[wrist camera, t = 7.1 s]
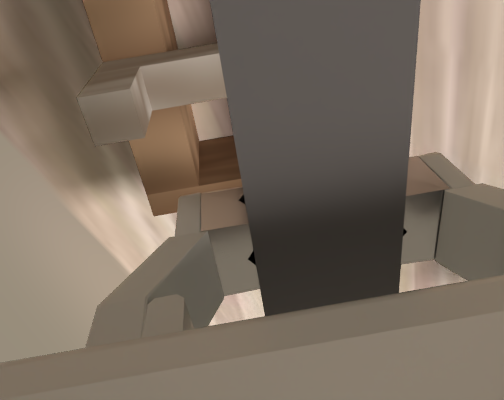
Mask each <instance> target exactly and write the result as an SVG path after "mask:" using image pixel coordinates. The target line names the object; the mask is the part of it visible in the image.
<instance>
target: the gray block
mask: <svg viewBox="0 0 504 400" xmlns="http://www.w3.org/2000/svg"><path fill="white" fill-rule="evenodd" d="M420 1H421V0H210V4H211V10H212V15H213V21H214V27H215V33H216V38H217V44H218V50H219V55H220V61H221V67H222V73H223V78H224V84H225V90H226V95H227V101H228V107H229V113H230V118H231V124H232V130H233V135H234V141H235V147H236V153H237V158H238V164H239V170H240V175H241V181H242V187H243V193H244V198H245V204H246V210H247V215H248V221H249V227H250V233H251V238H252V244H253V250H254V255H255V261H256V267H257V272H258V278H259V284H260V290H261V295H262V301H263V307H264V312H265V316H270V315H276V314H282V313H287V312H293V311H299V310H304V309H310V308H316V307H322V306H327V305H333V304H339V303H345V302H350V301H356V300H362V299H367V298H373V297H379V296H385V295H390V294H396V293H399V282H400V269H401V256H402V242H403V229H404V215H405V202H406V189H407V175H408V162H409V149H410V135H411V122H412V108H413V95H414V82H415V68H416V55H417V42H418V28H419V15H420Z"/></svg>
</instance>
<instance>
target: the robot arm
mask: <svg viewBox="0 0 504 400" xmlns="http://www.w3.org/2000/svg"><path fill="white" fill-rule="evenodd" d="M434 259H435V261H436V262H438V263H439V264H441V265H443V266H444V267H446V268H448V269H449V270H451V271H453V272H454V273H456V274H458V275H459V276H461V277H463V278H464V279H466V280H468V281H465V282H459V283H453V284H447V285H442V286H436V287H430V288H425V289H419V290H413V291H407V292H402V293H396V294H390V295H385V296H379V297H373V298H367V299H362V300H356V301H350V302H345V303H339V304H333V305H327V306H322V307H316V308H310V309H304V310H299V311H293V312H287V313H282V314H276V315H270V316H264V317H259V318H253V319H247V320H242V321H236V322H230V323H224V324H219V325H213V326H208V325H209V323H210V322H211V320H212V318H213V316H214V315H215V313H216V311H217V309H218V308H219V306H220V304H221V303H222V301H223V299H224V296H227V295H232V294H237V293H242V292H247V291H252V290H257V289H260V284H259V278H258V272H257V267H256V261H255V255H254V250H253V244H252V238H251V233H250V227H249V221H248V215H247V210H246V204H245V198H244V193H243V187H236V188H229V189H222V190H216V191H209V192H203V193H195V194H190V195H185V196H180V197H179V199H178V209H177V220H176V230H175V237H169V238H168V239H167V240H166V241H165V242H164V243H163V244H162V245H161V246H160V247H159V248H157V249H156V250H155V251H154V252H153V253H152V254H151V255H150V256H149V257H148V258H147V259H146V260H145V261H144V262H143V263H142V264H141V265H140V266H139V267H138V268H137V269H136V270H135V271H134V272H133V273H131V274H130V275H129V276H128V277H127V278H126V279H125V280H124V281H123V282H122V283H121V284H120V285H119V286H118V287H117V288H116V289H115V290H114V291H113V292H112V293H111V294H110V295H109V296H108V297H106V298H105V299H104V300H103V301H102V302H101V303H100V304H99V305H98V306H97V309H96V312H95V316H94V319H93V323H92V326H91V330H90V333H89V337H88V340H87V344H86V347H85V348H81V349H76V350H70V351H64V352H58V353H53V354H47V355H42V356H36V357H30V358H24V359H19V360H13V361H7V362H2V363H0V400H504V189H500V188H497V187H493V186H490V185H486V184H483V183H482V184H475V183H473V182H472V181H471V180H470V179H469V178H468V177H467V176H466V175H464V174H463V173H462V172H461V171H460V170H459V169H458V168H457V167H456V166H454V165H453V164H452V163H451V162H450V161H449V160H448V159H447V158H445V157H444V156H443V155H442V154H441V153H437V152H434V153H429V154H424V155H420V156H414V157H409V162H408V175H407V189H406V202H405V215H404V229H403V242H402V256H401V264H407V263H414V262H421V261H427V260H434Z"/></svg>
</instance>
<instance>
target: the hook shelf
mask: <svg viewBox="0 0 504 400" xmlns="http://www.w3.org/2000/svg"><path fill="white" fill-rule="evenodd" d="M82 1H83V4H84V7H85V10H86V13H87V16H88V19H89V22H90V25H91V28H92V31H93V34H94V37H95V40H96V43H97V46H98V49H99V52H100V55H101V58H102V61H103V63H102V64H101V65H100V67H99V68H98V69H97V71H96V72H95V73H94V75H93V76H92V78H91V79H90V80H89V82H88V83H87V84H86V86H85V87H84V88H83V90H82V91H81V92H80V94H79V95H78V96H77V101H78V104H79V106H80V109H81V111H82V114H83V117H84V119H85V122H86V125H87V127H88V130H89V132H90V135H91V138H92V140H93V143H94V145H95V146H100V145H106V144H112V143H118V142H124V141H129V143H130V146H131V149H132V152H133V155H134V158H135V161H136V164H137V167H138V170H139V173H140V176H141V179H142V182H143V185H144V188H145V191H146V194H147V197H148V200H149V203H150V206H151V209H152V212H153V215H154V216H158V215H164V214H169V213H175V212H177V209H178V199H179V197H180V196H185V195H190V194H195V193H203V192H209V191H216V190H222V189H229V188H236V187H242V181H241V175H240V170H239V164H238V158H237V153H236V147H235V141H234V136H228V137H223V138H217V139H211V140H205V141H199V139H198V134H197V130H196V126H195V121H194V117H193V112H192V108H191V104H194V103H200V102H206V101H211V100H217V99H223V98H227V95H226V90H225V84H224V78H223V73H222V67H221V61H220V55H219V50H218V44H217V43H214V44H208V45H202V46H196V47H190V48H184V49H179V50H178V47H177V42H176V38H175V34H174V29H173V25H172V21H171V16H170V12H169V7H168V3H167V0H82Z"/></svg>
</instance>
